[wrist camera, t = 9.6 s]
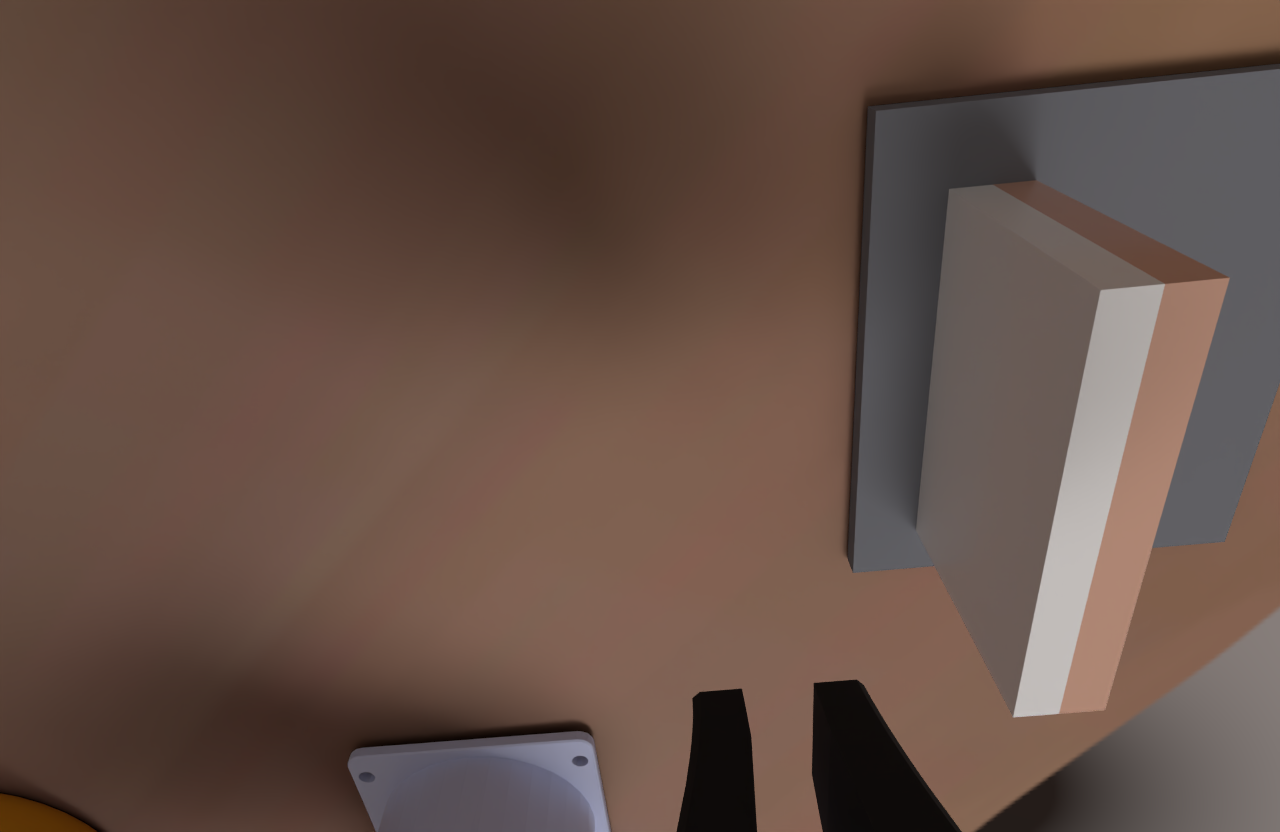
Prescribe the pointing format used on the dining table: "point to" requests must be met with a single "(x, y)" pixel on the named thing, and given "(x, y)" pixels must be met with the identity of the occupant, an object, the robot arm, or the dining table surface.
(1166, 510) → the mat
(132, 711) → the dining table surface
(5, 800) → the beer bottle
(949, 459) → the tile
